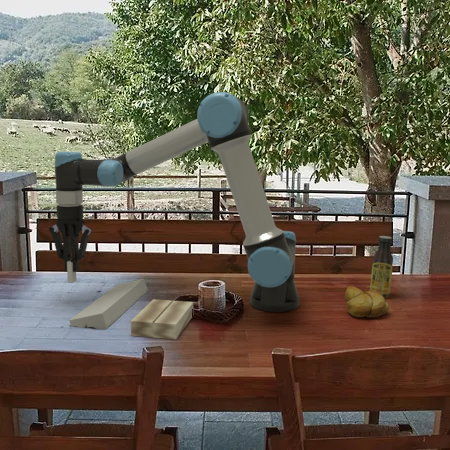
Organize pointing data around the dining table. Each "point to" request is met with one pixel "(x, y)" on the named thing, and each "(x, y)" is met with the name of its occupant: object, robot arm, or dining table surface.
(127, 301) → the decorative molding
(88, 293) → the dining table surface
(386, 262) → the sauce bottle
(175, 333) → the floorboards
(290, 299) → the robot arm
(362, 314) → the bread roll
